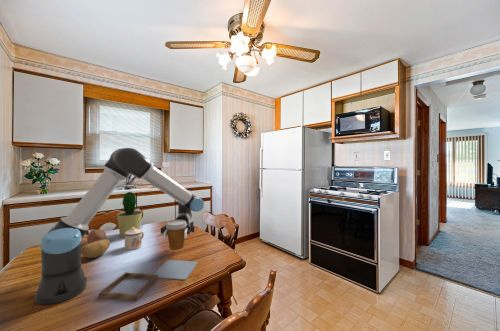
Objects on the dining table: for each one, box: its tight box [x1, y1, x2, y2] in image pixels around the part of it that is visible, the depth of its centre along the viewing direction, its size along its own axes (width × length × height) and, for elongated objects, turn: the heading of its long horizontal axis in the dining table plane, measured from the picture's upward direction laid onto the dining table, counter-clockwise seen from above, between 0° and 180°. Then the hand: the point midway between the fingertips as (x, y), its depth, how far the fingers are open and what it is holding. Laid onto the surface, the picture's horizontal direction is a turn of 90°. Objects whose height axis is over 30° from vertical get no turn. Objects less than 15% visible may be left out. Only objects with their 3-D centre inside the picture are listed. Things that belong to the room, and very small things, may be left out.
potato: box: [81, 238, 111, 259], centre depth 115 cm, size 10×14×8 cm
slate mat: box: [153, 259, 199, 281], centre depth 102 cm, size 16×16×1 cm
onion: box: [86, 228, 107, 244], centre depth 131 cm, size 10×9×10 cm
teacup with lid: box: [124, 227, 145, 251], centre depth 128 cm, size 12×9×12 cm
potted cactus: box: [116, 191, 143, 238], centre depth 148 cm, size 15×15×30 cm
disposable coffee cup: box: [165, 219, 187, 251], centre depth 102 cm, size 10×10×12 cm
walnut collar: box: [98, 272, 159, 302], centre depth 87 cm, size 15×15×2 cm
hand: (174, 235), depth 97 cm, fingers closed on disposable coffee cup, 8 cm apart
